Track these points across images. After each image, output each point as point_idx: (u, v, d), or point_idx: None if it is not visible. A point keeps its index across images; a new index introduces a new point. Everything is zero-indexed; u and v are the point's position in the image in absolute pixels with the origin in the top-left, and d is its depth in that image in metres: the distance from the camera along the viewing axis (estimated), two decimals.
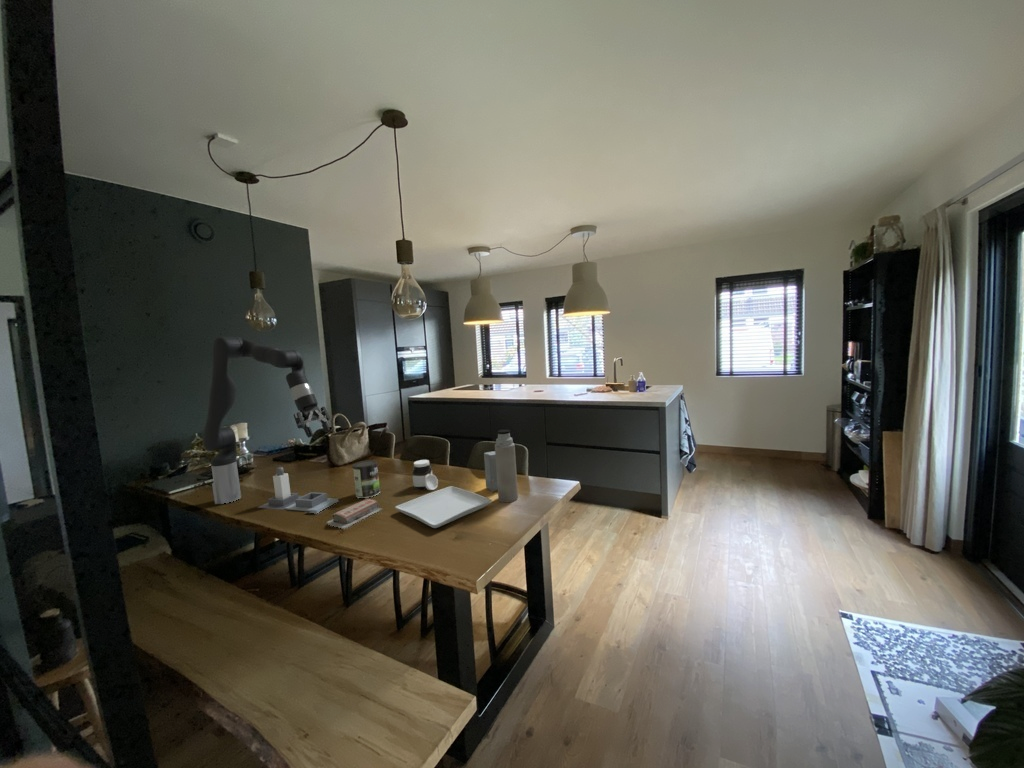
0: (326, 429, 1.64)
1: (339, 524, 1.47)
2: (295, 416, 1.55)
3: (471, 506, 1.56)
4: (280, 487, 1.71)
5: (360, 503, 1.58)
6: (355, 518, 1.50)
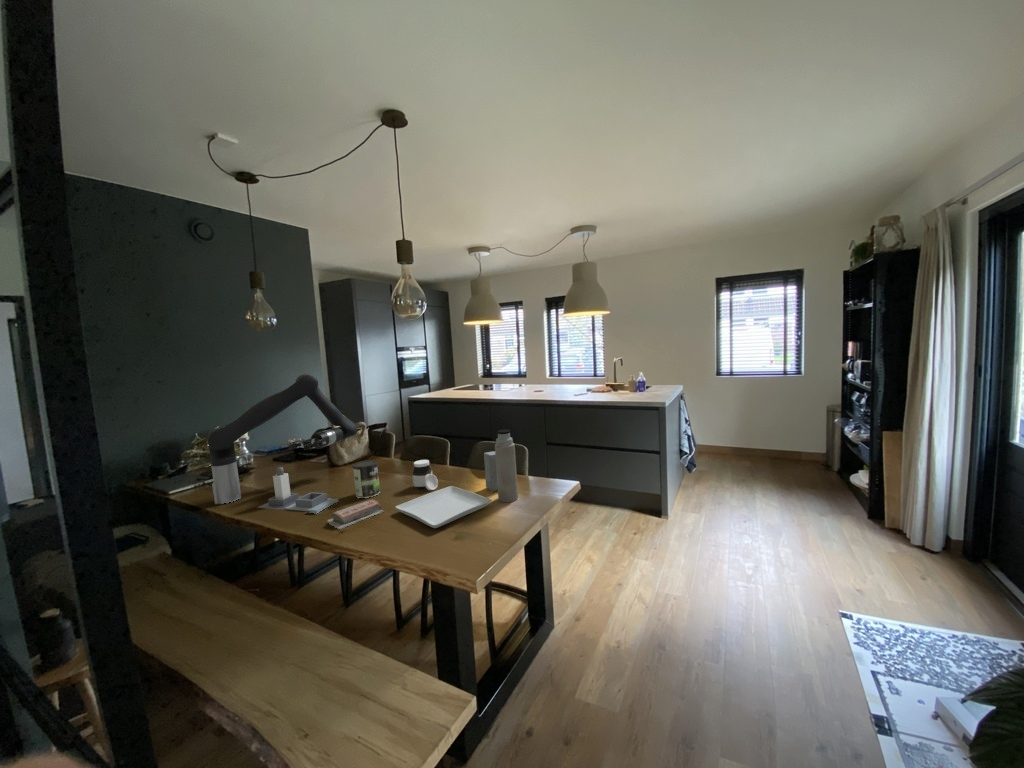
0: (291, 447, 1.83)
1: (336, 524, 1.48)
2: (324, 441, 1.87)
3: (471, 506, 1.56)
4: (280, 487, 1.71)
5: (362, 503, 1.57)
6: (353, 519, 1.50)
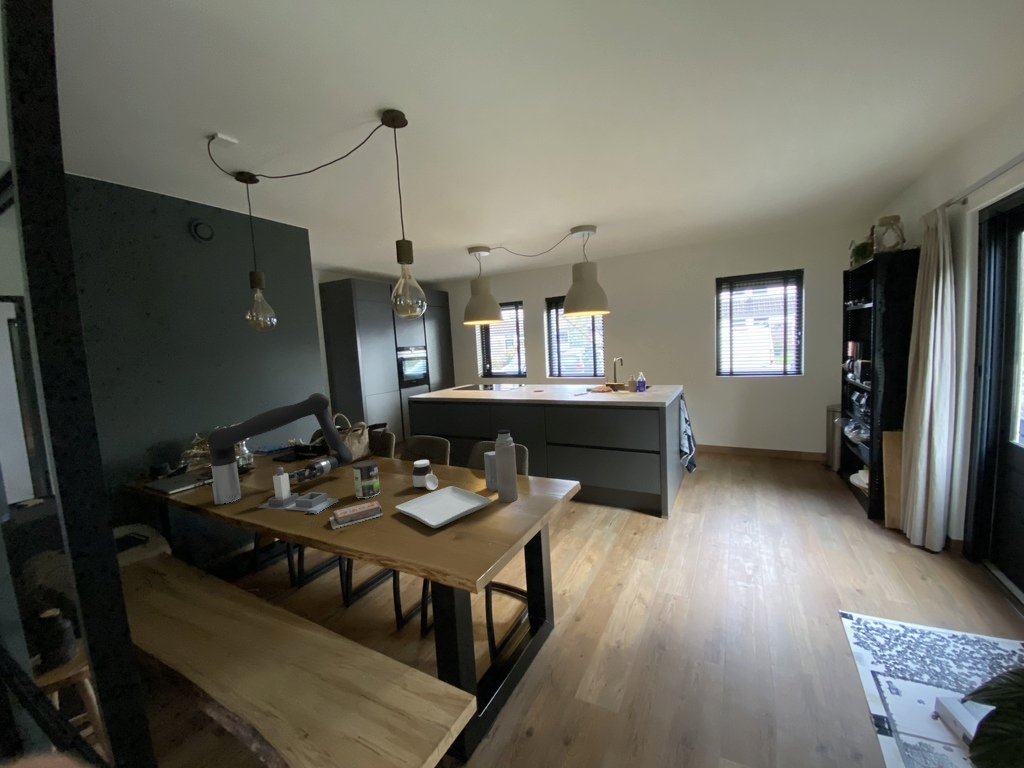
0: None
1: (334, 523, 1.49)
2: (318, 473, 1.84)
3: (471, 506, 1.56)
4: (280, 487, 1.71)
5: (364, 504, 1.56)
6: (349, 520, 1.49)
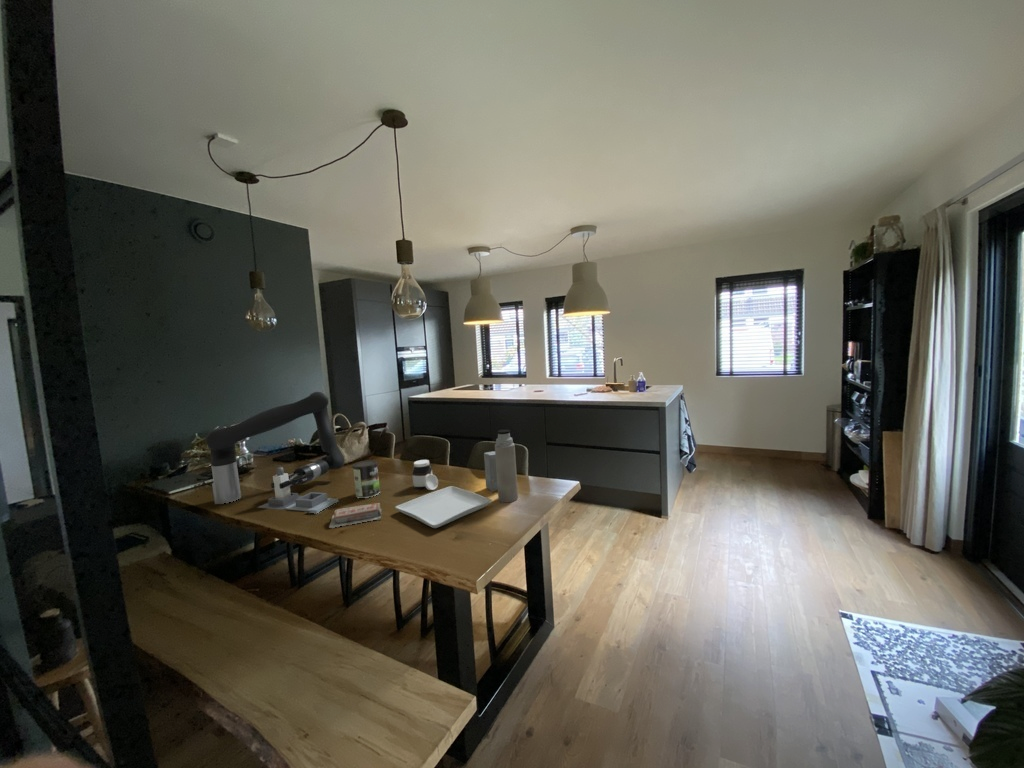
0: None
1: (333, 522, 1.50)
2: (304, 478, 1.76)
3: (471, 506, 1.56)
4: None
5: (365, 505, 1.55)
6: (346, 520, 1.49)
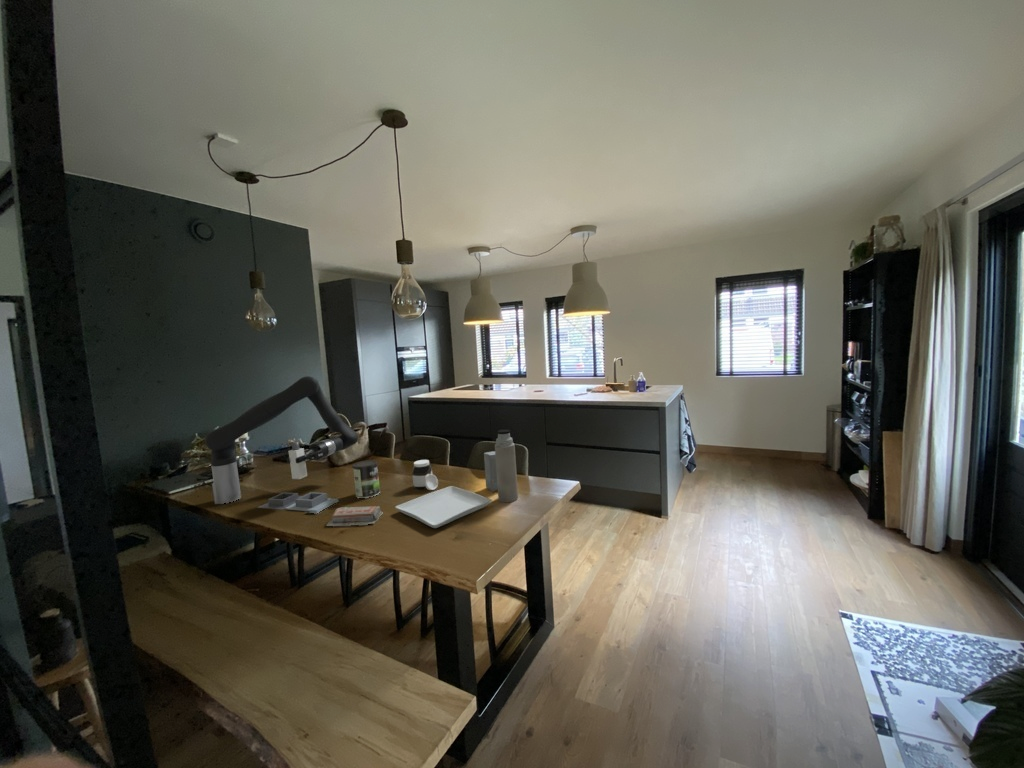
0: None
1: (333, 520, 1.52)
2: (320, 453, 1.73)
3: (471, 506, 1.56)
4: None
5: (365, 507, 1.53)
6: (343, 521, 1.49)
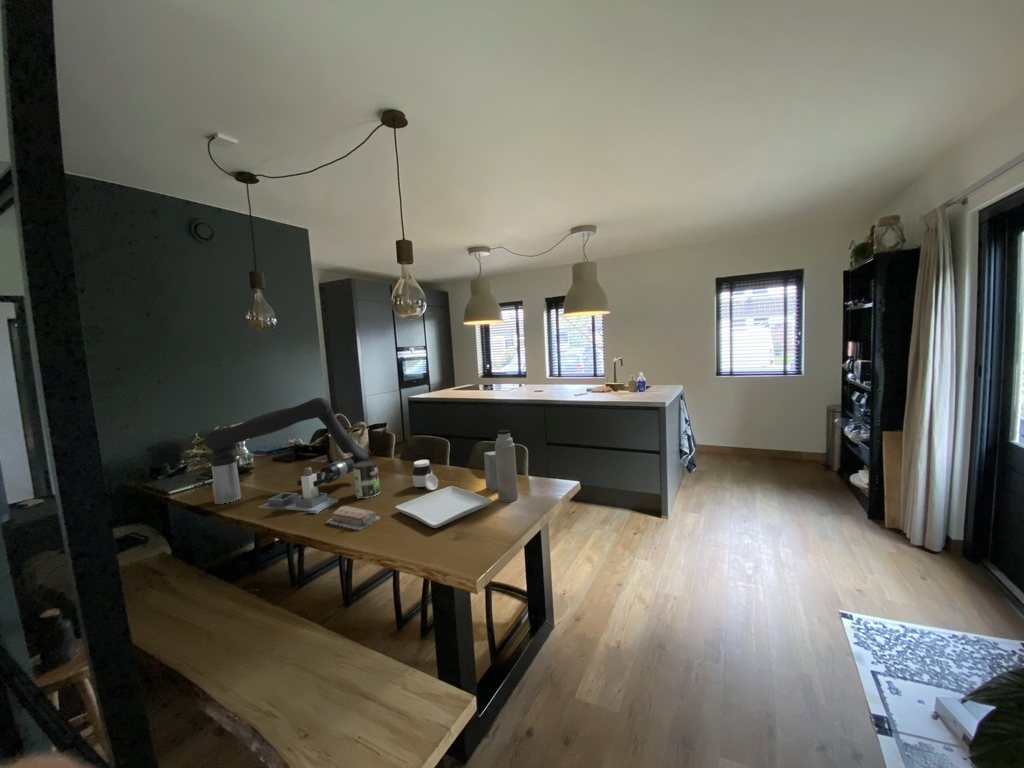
0: (300, 483, 1.68)
1: None
2: (335, 476, 1.72)
3: (471, 506, 1.56)
4: (308, 488, 1.65)
5: (361, 510, 1.50)
6: (339, 520, 1.49)
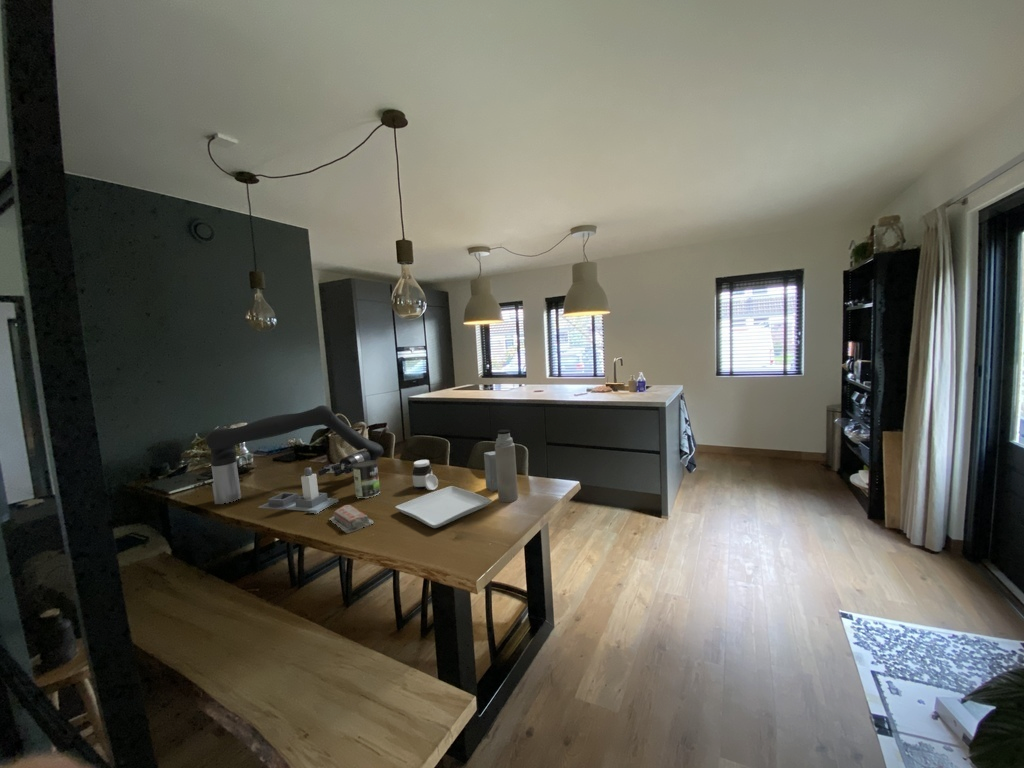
0: (321, 473, 1.79)
1: None
2: None
3: (471, 506, 1.56)
4: (308, 488, 1.65)
5: (357, 512, 1.49)
6: (337, 519, 1.50)
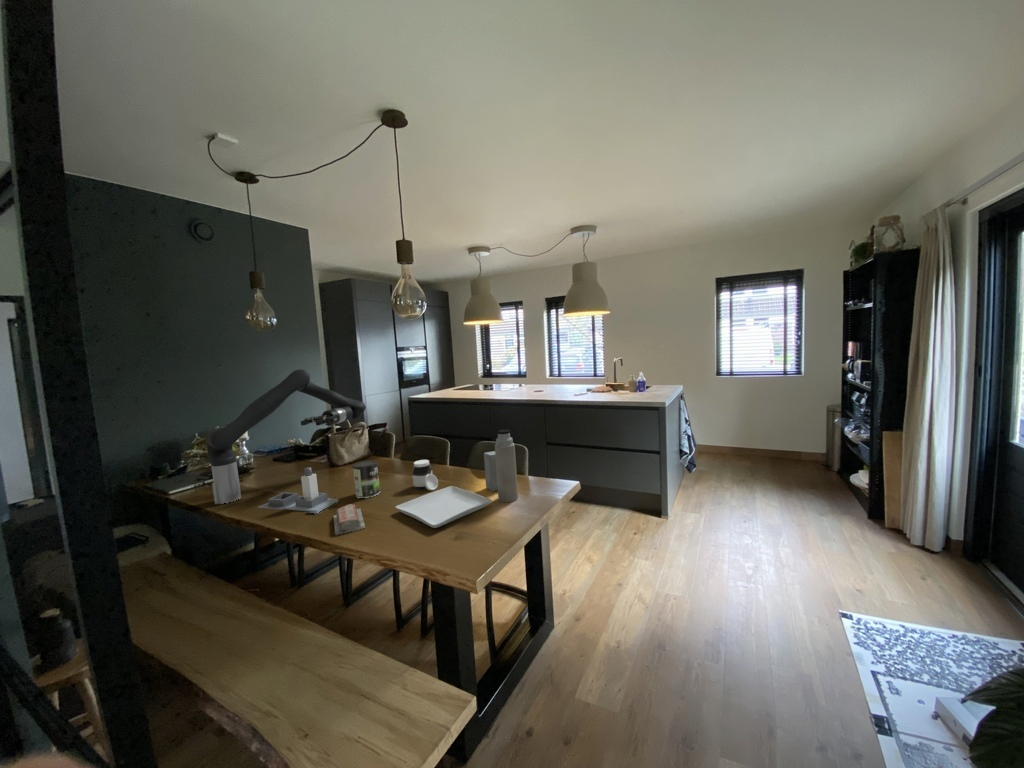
0: (303, 423, 1.87)
1: None
2: (335, 418, 1.91)
3: (471, 506, 1.56)
4: (308, 488, 1.65)
5: (351, 514, 1.47)
6: (337, 518, 1.51)
